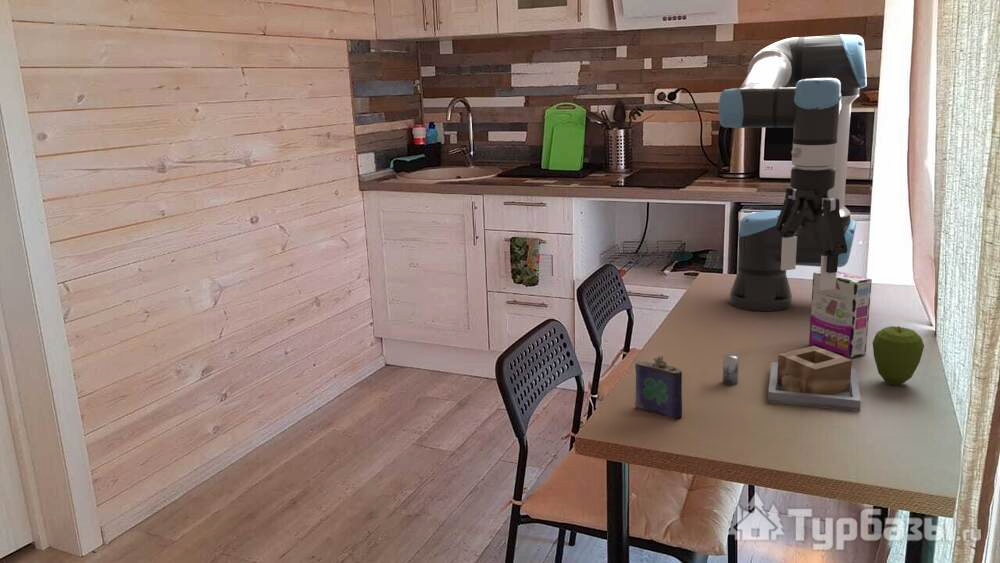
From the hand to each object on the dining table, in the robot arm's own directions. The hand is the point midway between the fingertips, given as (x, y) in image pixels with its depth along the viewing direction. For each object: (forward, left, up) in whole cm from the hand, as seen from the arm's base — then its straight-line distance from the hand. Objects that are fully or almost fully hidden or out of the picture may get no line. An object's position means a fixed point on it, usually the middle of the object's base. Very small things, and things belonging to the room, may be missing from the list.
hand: (806, 278), depth 150 cm
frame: (+5, +2, -20) cm, 20 cm away
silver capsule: (+5, -13, -20) cm, 25 cm away
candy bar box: (-19, +7, -20) cm, 28 cm away
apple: (-2, +17, -20) cm, 26 cm away
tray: (+5, +2, -20) cm, 21 cm away
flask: (+22, -24, -20) cm, 39 cm away
